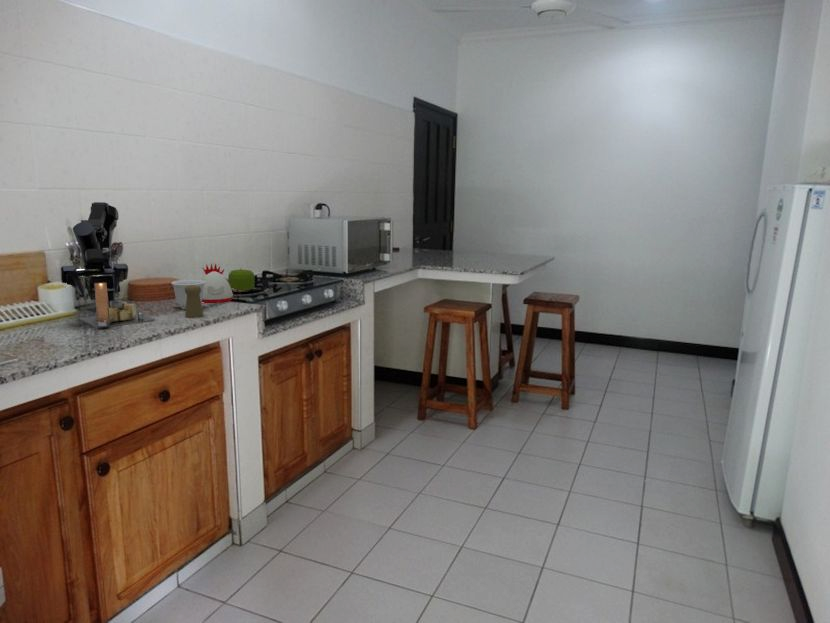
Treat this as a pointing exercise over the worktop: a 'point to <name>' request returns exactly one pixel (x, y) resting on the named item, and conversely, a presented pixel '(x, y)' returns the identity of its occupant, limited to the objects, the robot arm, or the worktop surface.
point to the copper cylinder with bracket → (110, 307)
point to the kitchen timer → (216, 286)
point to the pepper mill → (193, 301)
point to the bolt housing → (137, 319)
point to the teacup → (180, 290)
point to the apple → (241, 279)
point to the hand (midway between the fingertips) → (99, 293)
